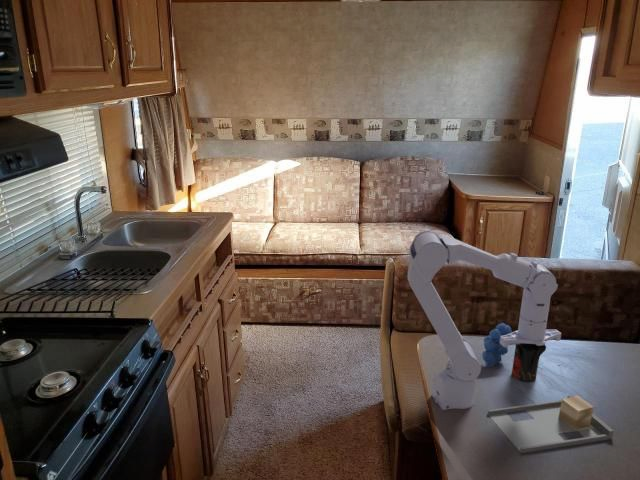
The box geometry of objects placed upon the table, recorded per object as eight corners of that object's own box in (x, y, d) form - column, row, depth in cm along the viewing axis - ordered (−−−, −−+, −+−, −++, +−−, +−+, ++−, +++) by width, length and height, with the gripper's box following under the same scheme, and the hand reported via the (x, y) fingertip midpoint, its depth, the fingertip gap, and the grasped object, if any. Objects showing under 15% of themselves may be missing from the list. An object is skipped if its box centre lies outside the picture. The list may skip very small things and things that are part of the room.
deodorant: (537, 388, 125) (546, 336, 120) (512, 385, 126) (520, 333, 122) (532, 376, 130) (540, 325, 126) (509, 373, 132) (516, 323, 127)
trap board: (520, 459, 101) (522, 445, 100) (486, 419, 113) (488, 406, 112) (610, 444, 105) (613, 430, 104) (568, 407, 117) (571, 395, 116)
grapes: (493, 350, 143) (498, 313, 139) (514, 360, 138) (519, 322, 134) (469, 363, 136) (473, 324, 132) (490, 374, 131) (495, 334, 127)
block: (574, 430, 107) (578, 411, 106) (558, 417, 111) (562, 399, 110) (589, 426, 109) (593, 406, 107) (573, 413, 113) (577, 395, 111)
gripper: (515, 328, 105) (508, 383, 109) (573, 321, 108) (564, 375, 112) (497, 314, 111) (491, 366, 115) (552, 308, 114) (544, 359, 118)
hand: (526, 369), depth 114 cm, fingers closed
